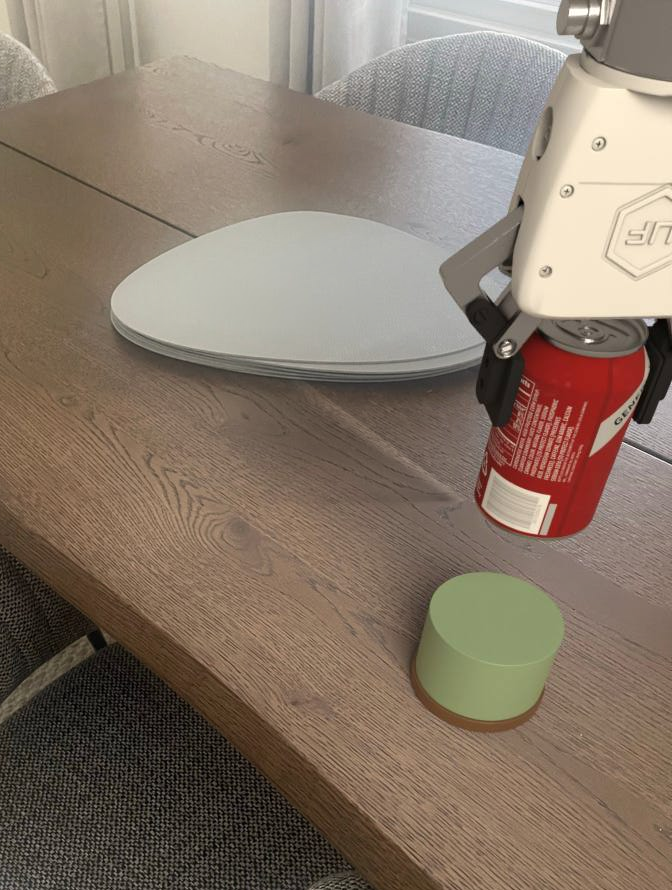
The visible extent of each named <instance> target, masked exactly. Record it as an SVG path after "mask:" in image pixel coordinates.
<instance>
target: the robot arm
mask: <svg viewBox="0 0 672 890" xmlns="http://www.w3.org/2000/svg"><path fill="white" fill-rule="evenodd" d="M557 10H558V11H557V13H556V14H557V15H556V21H555V22H556V25H555V29H556V33H557V35H558V36H574V38H575V39H576V40H579V44H580V45H581V46H582V50H581V52H578V53H570V54H568V55H567V56H566V58H565V60H564V62H563V64H562V66H561V68H560V70H559V72H558V75H557V76H556V79H555V80H554V83H553V85H552V87H551V89H550V92H549V94H548V97H547V99H546V101H545V104H544V105H543V108H542V110H541V112H540V115H539V118H538V120H537V122H536V125H535V128H534V130H533V132H532V136H531V138H530V141H529V145H528V147H527V150H526V152H525V156H524V159H523V161H522V164H521V168H520V169H519V174H518V177H517V180H516V183H515V186H514V190H513V193H512V195H511V199H510V202H509V206H508V209H507V212H506V215H505V216H504V217H502V218H501V219H500V220H499V221H497V222H495V224H493V225H492V226H490V227H489V228H488V229H486V230H485V231H484V232H483V233H481V234H480V235H478V236H477V237H475V238H474V239H473V240H472V241H470V242H469V243H468V244H466V245H465V246H463V247H462V248H460V249H459V250H458V251H457V252H455V253H454V254H453V255H451V256H450V257H448V258H446V260H444V261H443V262H442V263H441V264H440V266H439V268H438V274H439V277H440V279H441V281H442V284H443V286H444V288H445V289H446V291H447V292H448V294H449V295H450V296H451V298H452V299H453V300H454V302H455V304H456V305H457V306H458V308H459V309H460V310H461V311H462V313H463V314H464V316H465V317H466V319H467V320H468V322H469V324H470V325H471V326H472V327H473V328H474V330H475V331H476V332H477V333H478V334H479V335H480V336H481V338H482V339H483V341H485V346H484V350H483V353H482V357H481V361H480V365H479V369H478V375H477V378H476V383H475V397H476V400H477V402H478V404H480V405H484V408H485V411H486V413H487V415H488V418H489V420H490V422H491V426H492V425H493V427H505V425H506V424H509V421H510V418H511V414H512V411H513V407H514V404H515V400H516V397H517V393H518V389H519V386H520V382H521V379H522V375H523V372H524V368H525V359H524V357H523V355H522V353H521V351H520V348H521V347H522V345H523V344H524V343H525V342H526V341H527V339H528V338H529V337H530V336H531V334H532V333H533V332H534V331H535V329H536V328H537V327H538V326H539V325H540V323H541V322H542V321H543V320H544V319H549V320H604V319H643V320H646V319H647V320H649V319H651V320H652V319H653V322H654V323H653V324H652V325H647V326H648V329H649V336H648V339H647V342H646V344H645V345H644V346H645V349H646V352H647V355H648V358H649V362H650V371H649V374H648V377H647V380H646V382H645V385H644V387H643V390H642V392H641V395H640V398H639V400H638V403H637V405H636V408H635V411H634V413H633V416H632V418H631V420H632V421H633V422H634V423H635V424H637V425H649V424H651V423H652V420H653V418H654V416H655V413H656V411H657V408H658V406H659V403H660V401H663V400H664V399H665V398H666V396H667V393H668V391H669V390H670V387H671V384H672V0H561V1H560V4H559V6H558V9H557ZM497 267H498V270H499V272H500V273H501V274H502V275H504V276H506V277H508V278H510V279H511V280H510V281H509V282H508V284H507V285H506V286H505V287H504V289H503V290H502V291H501V293H500V294H499V296H498V297H497V298H496V299H495V300H494V301H493V300H492V298H490V296H489V295H488V294H487V293H486V291H485V290H484V289H483V288H482V287H481V286H480V283H481V281H482V279H483V278H484V277H485V276H486V275H487V274H488V273H490V272H491V271H493V270H494V269H496V268H497Z"/></svg>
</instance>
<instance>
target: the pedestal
mask: <svg viewBox="0 0 672 890" xmlns="http://www.w3.org/2000/svg"><path fill="white" fill-rule="evenodd" d="M565 627H566V626H565V622H564V618H563V614H562V612H561V611H560V609H559V607H558V606H557V604H556V603H555V601H553V600H552V599H551V597H550V596H548V595H547V594H546V593H545V592H543V590H541V589H540V588H538V587H537V586H535V585H533V584H532V583H530V582H528V581H525V580H524V579H522V578H518V577H516V576H512V575H509V574H505V573H500V572H493V571H476V572H475V571H474V572H467V573H463V574H459V575H456V576H453V577H451V578H449V579H447V580H446V581H445V582H443V583H441V584H440V586H438V587H437V589H436V590H435V591H434V592H433V594H432V596H431V599H430V602H429V605H428V609H427V612H426V618H425V621H424V625H423V628H422V633H421V636H420V641H419V645H418V646H417V648H416V649H415V652H414V654H413V657H412V662H411V665H410V670H409V671H410V672H409V673H410V675H409V677H410V683H411V686H412V689H413V691H414V693H415V695H416V697H417V698H418V700H419V701H420V703H421V704H422V705H423V706H424V707H425V708H426V709H427V710H428V711H429V712H430V713H431V714H433V715H434V716H436V717H437V718H439V719H440V720H442V721H444V723H445V722H446V723H447V724H449V725H451V726H454V727H457V728H460V729H462V730H465V731H470V732H478V733H501V732H506V731H510V730H513V729H516V728H518V727H519V726H522V725H523V724H525V723H527V722H528V721H529V720H530V719H531V718H532V717H533V716H535V714H536V713H537V711H538V709H539V707H540V706H541V703H542V700H543V698H544V695H545V691H546V682H547V680H548V677H549V675H550V672H551V670H552V667H553V665H554V663H555V660H556V658H557V655H558V652H559V650H560V647H561V645H562V643H563V642H564V641H563V640H564V637H565V629H566V628H565Z"/></svg>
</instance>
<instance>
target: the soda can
mask: <svg viewBox="0 0 672 890" xmlns="http://www.w3.org/2000/svg"><path fill="white" fill-rule="evenodd" d="M648 326H649V325H648V324H647V323H646V322H645V319H604V320H549V319H544V320H543V321H542V322H541V323H540V325H539V326H538V327H537V328H536V329H535V331H534V332H533V333H532V334H531V336H530V337H529V338H528V339H527V341H526V342H525V343H524V344H523V345H522V347H521V348H520V351H521V353H522V355H523V357H524V359H525V368H524V372H523V375H522V379H521V382H520V386H519V389H518V393H517V397H516V400H515V404H514V407H513V411H512V414H511V418H510V421H509V424H506V425H505V427H493V425H492V424H491V426H490V429H489V434H488V438H487V442H486V445H485V449H484V453H483V457H482V459H481V464H480V467H479V472H478V475H477V480H476V483H475V487H474V491H473V499H474V503H475V506H476V508H477V510H478V511H479V513H480V514H481V515H482V517H483V518H484V519H485V520H486V521H488V522H489V523H490V524H491V525H493V526H494V527H495V528H498V529H499V530H501V531H503V532H505V533H507V534H509V535H512V536H514V537H518V538H521V539H526V540H531V541H539V542H554V541H561V540H566V539H570V538H572V537H575V536H578V535H579V534H581V533H582V532H584V531H585V530H586V529H587V528H588V527H589V526H590V525H591V523H592V521H593V518H594V516H595V514H596V512H597V511H596V510H597V509H598V506H599V503H600V500H601V498H602V496H603V493H604V491H605V488H606V486H607V483H608V481H609V478H610V475H611V472H612V470H613V468H614V465H615V462H616V459H617V457H618V454H619V452H620V449H621V447H622V444H623V441H624V439H625V436H626V433H627V431H628V429H629V426H630V423H631V421H632V416H633V413H634V411H635V408H636V405H637V403H638V400H639V398H640V395H641V392H642V390H643V387H644V385H645V382H646V380H647V377H648V374H649V371H650V362H649V358H648V355H647V352H646V349H645V346H644V345H645V344H646V342H647V339H648V336H649V329H648Z"/></svg>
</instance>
